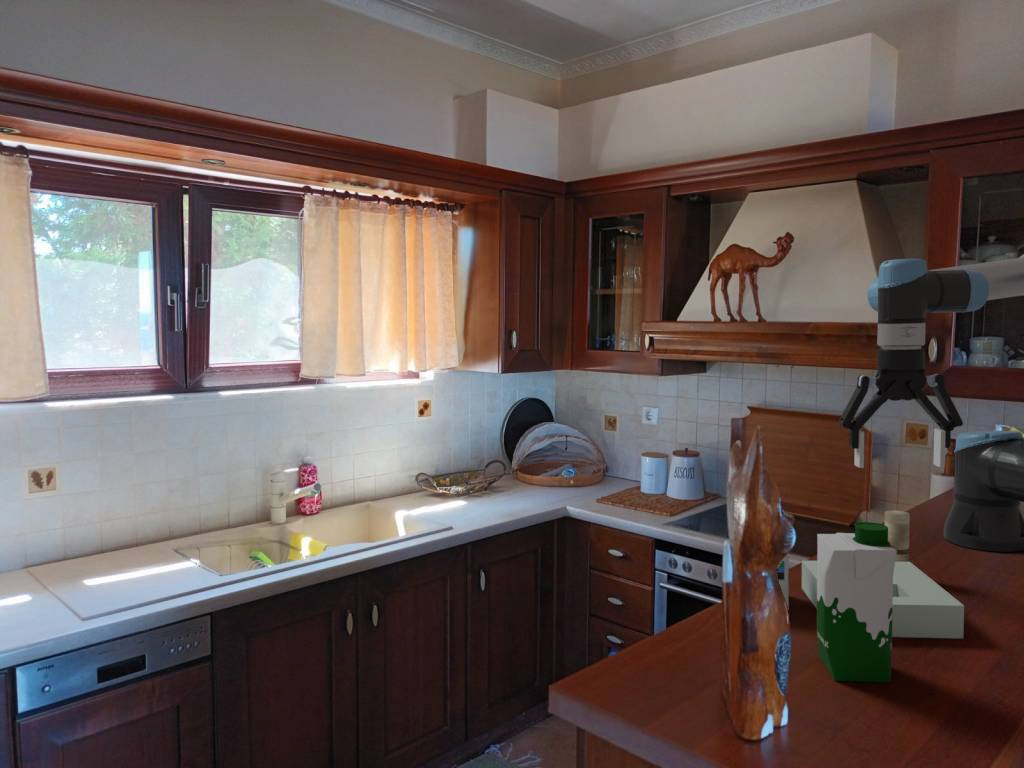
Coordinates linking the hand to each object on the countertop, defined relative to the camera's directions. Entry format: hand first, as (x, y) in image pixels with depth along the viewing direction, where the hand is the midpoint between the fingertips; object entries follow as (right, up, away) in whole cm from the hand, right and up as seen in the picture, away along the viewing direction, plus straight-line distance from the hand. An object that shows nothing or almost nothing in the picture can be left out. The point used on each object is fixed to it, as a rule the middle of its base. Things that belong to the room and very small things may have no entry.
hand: (898, 466), depth 135 cm
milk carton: (-23, -24, -32) cm, 46 cm away
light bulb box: (-27, -22, -8) cm, 36 cm away
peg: (+1, -21, +2) cm, 21 cm away
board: (-10, -22, -13) cm, 28 cm away
